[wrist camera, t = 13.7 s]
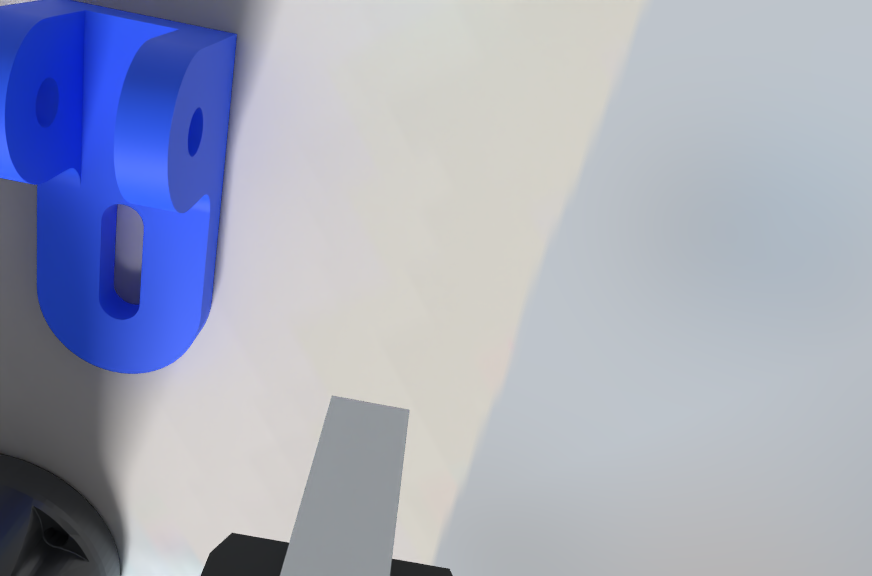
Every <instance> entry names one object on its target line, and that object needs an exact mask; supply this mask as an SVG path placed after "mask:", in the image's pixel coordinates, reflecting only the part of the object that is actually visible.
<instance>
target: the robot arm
mask: <svg viewBox="0 0 872 576" xmlns="http://www.w3.org/2000/svg"><path fill="white" fill-rule="evenodd" d="M408 418H409V410H408V409H402V408H397V407H391V406H386V405H380V404H375V403H370V402H364V401H359V400H353V399H348V398H342V397H337V396H332V398H331V401H330V404H329V408H328V411H327V415H326V418H325V422H324V425H323V429H322V432H321V436H320V439H319V442H318V446H317V449H316V453H315V456H314V460H313V463H312V467H311V470H310V474H309V477H308V480H307V484H306V487H305V491H304V494H303V498H302V501H301V505H300V508H299V511H298V515H297V518H296V522H295V525H294V529H293V532H292V536H291V539H290V543H287V542H281V541H276V540H270V539H264V538H259V537H253V536H247V535H242V534H236V533H231V534H230V535H229V536H228V537H227V538H226V539H225V540H224V541H223V542H221V543H220V544H219V545H218V546H217V547H216V548H215V549H214V550H213V551H212V552H210V554H209V557H208V559H207V561H206V564H205V566H204V569H203V571H202V574H201V576H452V573H451V571H450V569H447V568H441V567H436V566H430V565H424V564H419V563H413V562H407V561H402V560H396V559H392V554H393V545H394V537H395V528H396V520H397V511H398V503H399V494H400V486H401V477H402V469H403V460H404V452H405V443H406V435H407V426H408ZM0 576H120V562H119V556H118V552H117V548H116V546H115V543H114V540H113V538H112V536H111V533H110V532H109V530H108V528H107V526H106V524H105V523H104V521H103V520H102V518H101V517H100V516H99V514H98V513H97V512H96V510H95V509H94V508H93V507H92V506H91V505H90V504H89V503H88V501H87V500H86V499H85V498H84V497H82V496H81V495H80V494H79V493H78V492H77V491H76V490H74V489H73V488H72V487H71V486H69V485H68V484H67V483H65V482H64V481H62V480H61V479H59V478H58V477H56V476H54V475H53V474H51V473H49V472H47V471H46V470H44V469H42V468H40V467H37V466H35V465H33V464H30V463H28V462H26V461H23V460H20V459H17V458H14V457H10V456H6V455H2V454H0Z"/></svg>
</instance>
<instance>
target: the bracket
mask: <svg viewBox="0 0 872 576" xmlns="http://www.w3.org/2000/svg"><path fill="white" fill-rule="evenodd" d="M236 39H237V34H234V33H229V32H225V31H220V30H215V29H210V28H205V27H200V26H195V25H190V24H185V23H180V22H175V21H171V20H166V19H161V18H156V17H151V16H146V15H141V14H136V13H131V12H126V11H122V10H117V9H112V8H107V7H102V6H97V5H92V4H87V3H82V2H77V1H72V0H38V1H32V2H25V3H19V4H12V5H5V6H0V178H3V179H8V180H13V181H19V182H24V183H29V184H34V185H37V295H38V300H39V304H40V308H41V311H42V313H43V316H44V318H45V320H46V322H47V324H48V326H49V327H50V329H51V330H52V332H53V333H54V334H55V336H56V337H57V338H58V339H59V340H60V341H61V342H62V343H63V345H64V346H66V347H67V348H68V349H69V350H70V351H71V352H73V353H74V354H75V355H77V356H78V357H80V358H81V359H83V360H85V361H86V362H88V363H90V364H92V365H94V366H97V367H100V368H102V369H106V370H109V371H113V372H119V373H128V374H138V373H146V372H151V371H155V370H158V369H161V368H163V367H165V366H168V365H169V364H171V363H173V362H174V361H176V360H177V359H178V358H180V357H181V356H182V355H183V354H184V353H185V352H186V351H187V349H188V348H189V347H190V346H191V344H192V343H193V341H194V340H195V338H196V337H197V335H198V334H199V332H200V331H201V330H202V328H203V326H204V324H205V323H206V320H207V318H208V316H209V312H210V309H211V302H212V292H213V282H214V271H215V261H216V250H217V240H218V229H219V219H220V208H221V197H222V187H223V176H224V166H225V155H226V145H227V134H228V124H229V113H230V103H231V92H232V82H233V71H234V60H235V50H236ZM118 204H123V205H127V206H129V207H131V208H133V209H134V210H136V211H137V212H138V214H139V215H140V216H141V218H142V220H143V224H144V236H143V254H142V271H141V289H140V304H130V303H127V302H125V301H124V300H122V299H121V298H120V297H119V296H118V295H117V293H116V291H115V289H114V264H115V241H116V218H117V205H118Z"/></svg>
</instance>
